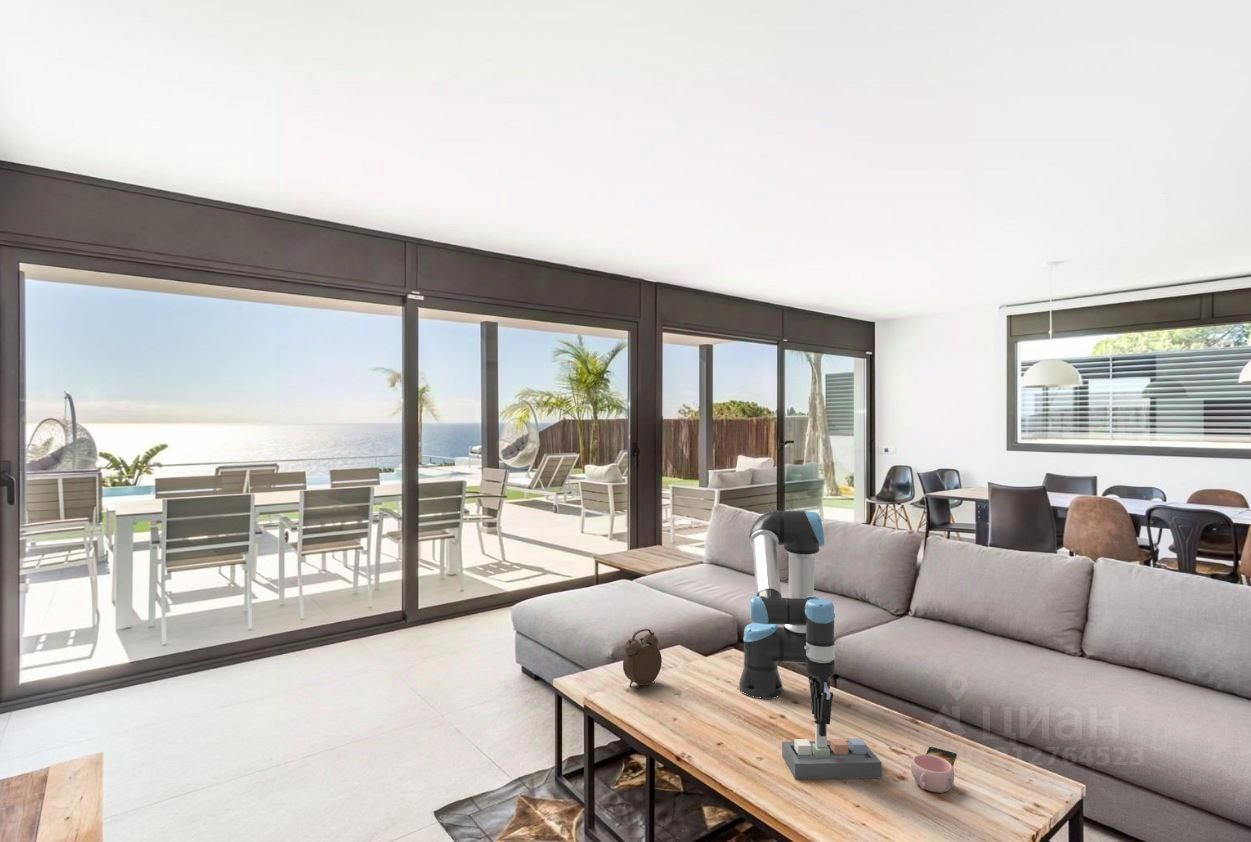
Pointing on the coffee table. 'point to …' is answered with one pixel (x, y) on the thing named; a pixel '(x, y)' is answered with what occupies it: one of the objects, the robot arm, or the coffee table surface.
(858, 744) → the key
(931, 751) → the smartphone
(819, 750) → the key
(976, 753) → the coffee table surface
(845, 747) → the key
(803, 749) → the key
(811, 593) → the robot arm
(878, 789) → the coffee table surface
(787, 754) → the gray rectangular tray
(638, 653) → the alarm clock
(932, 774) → the mug
